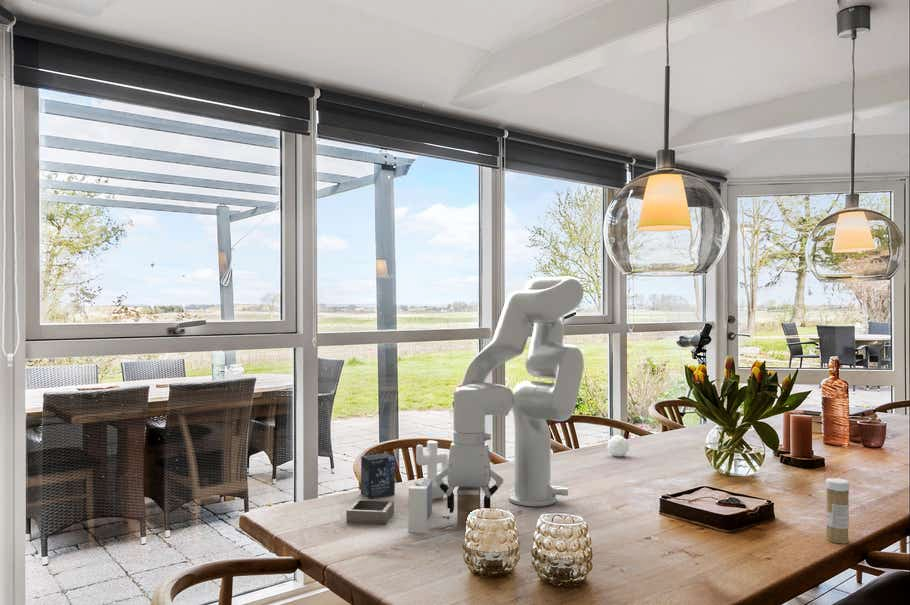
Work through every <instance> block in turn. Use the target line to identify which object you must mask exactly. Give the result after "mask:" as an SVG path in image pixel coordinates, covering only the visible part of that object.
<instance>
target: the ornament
mask: <svg viewBox="0 0 910 605" xmlns="http://www.w3.org/2000/svg"><path fill="white" fill-rule="evenodd" d="M609 438H610V439H609V440H608V441H607V446H606V447H607V450H608V451H609V453H610V454H611V455H612V456H613V457H618V458H621V457H623V456H626V454H627V453H628V452H629V449H630V443H629V442H628V440H627V439H626V438H625V437H624V436H622V435H614V436H612V435H610V436H609Z"/></svg>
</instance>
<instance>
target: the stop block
mask: <svg viewBox="0 0 910 605" xmlns="http://www.w3.org/2000/svg"><path fill="white" fill-rule="evenodd" d="M481 490H482V488H481V487H458V488H457V489H456V495H457V496H456V497H457V498H456V500H457V501H456V502H457V505H456V507H457V509H456V510H457V512H456V514H457V517H456V519H457V521H456V526H467V525H466V521H467V517H468V515H469V514H470V512H472V511H473V510H476V509H480V510H481Z"/></svg>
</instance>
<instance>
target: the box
mask: <svg viewBox="0 0 910 605" xmlns="http://www.w3.org/2000/svg"><path fill="white" fill-rule="evenodd" d="M360 457H361V460H360V461H361V464H360V495H362V496H363V497H365V498H367V499H368V500H372V499H374V498H380V497H385V496H394V495H396V493H395V492H396V491H395V490H396V487H395V486H396V456H394V455H392V454H389V453H386V452H384V453H376V454H370V455H369V454H368V455H361V456H360Z"/></svg>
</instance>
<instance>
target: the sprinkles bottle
mask: <svg viewBox="0 0 910 605" xmlns="http://www.w3.org/2000/svg"><path fill="white" fill-rule="evenodd" d="M825 488H826V510H825V511H826V514H825V515H826V516H825V517H826V518H825V520H826V521H825V524H826V533H825V534H826V535H825V538H826V540H828V541H829V542H832V543H836V544H847V543H848V544H849V542H850V540H849V525H850V522H849V521H850V519H849V518H850V515H849V514H850V504H849V502H850V501H849V493H850V492H849V491H850V490H851V489H850V481H848V480H846V479H842V478H839V477H838V478H836V477H829V478H826V480H825Z"/></svg>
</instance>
